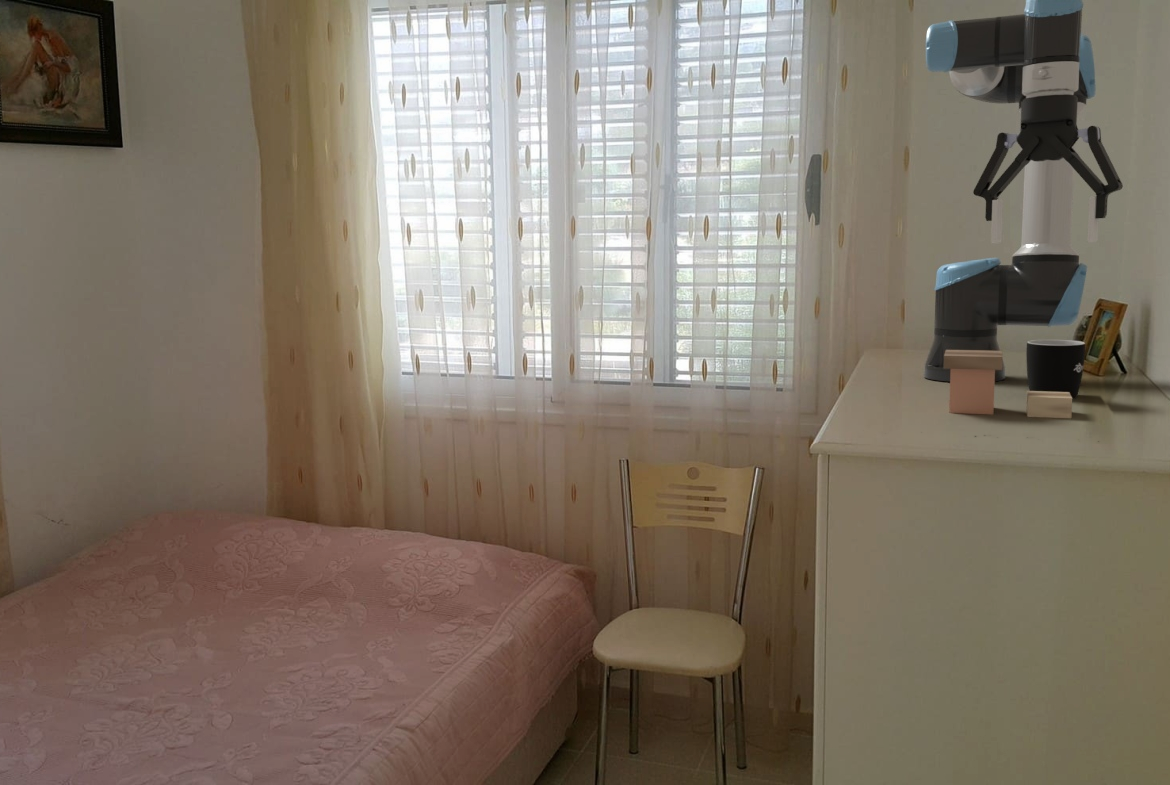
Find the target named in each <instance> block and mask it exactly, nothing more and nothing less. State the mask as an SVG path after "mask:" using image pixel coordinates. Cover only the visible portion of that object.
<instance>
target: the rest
mask: <svg viewBox="0 0 1170 785" xmlns="http://www.w3.org/2000/svg"><path fill="white" fill-rule="evenodd" d="M1025 402H1026V403H1025V404H1026V408H1025V411H1026V416H1027V417H1028V418H1030V417H1031V418H1055V419H1072V415H1073V414H1072V412H1073V399H1072V397H1071V395H1070V392H1047V391H1029V390H1026V401H1025Z"/></svg>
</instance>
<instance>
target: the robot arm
mask: <svg viewBox="0 0 1170 785" xmlns="http://www.w3.org/2000/svg"><path fill="white" fill-rule="evenodd" d="M1083 9H1084V2H1083V0H1025V7H1024V12H1023V13H1021V14H1011V15H1010V14H1009V15H1001V16H996V17H986V18H974V19H964V20H963V19H961V20H951V19H950V20H947V21H945V22H938V23H933V24H931V25H930V26H929V27H928V28H927V31H926V38H925V62H926V63H925V64H926V67H927V70H928V71H930V72H932V73H935V72H939V73H940V72H943V73H948V72H949V78H950V79H949V80H950V82H951V84H952V85H953V87H954V89H956V91H958V92H959V93H960V94H961V95H963V96H965V97H968V98H970V99H973V100H976V101H979V102H985V103H990V104H1018V113H1019V114H1020V128H1019V132H1018V133H1014V134H1013V133H1007V132H1000V133H998V134H997V139H996V144H995V149H994V150H993V152H992V154H991V155H990V158H989V161H988V162H987V164H986V166H985V168H984V170H983V172H982V174H981V176H980V177H979V180H978V181H977V182H976V183H977V184H976V185H975V187H974V189H973V195H974V196H976V197H980V198H982V199H984V200H985V217H984V218H985V221H986V222H991V231H990V232H991V233H990V243H991V244H1000V243H1002V241H1003V240H1002V234H1003V212H1004V211H1003V210H1004V209H1003V208H1004V207H1003V206H1004V199H999V197H1000V195H1001V194H1002V193H1003V192H1004V191H1005V190H1006V189H1007V188H1008V186H1009V185H1010V184H1011V183H1012V182H1013V181H1014V179H1015V178H1016V177H1017V176H1018V175H1019V174H1020V173H1021V171H1022V170H1023V169H1024V176H1023V178H1024V179H1023V201H1022V203H1023V204H1022V224H1021V244H1020V245H1021V246H1020V248H1018V250H1016V251H1014V253H1013V254H1012V256H1011V258H1012V259H1011V264H1001V260H1000V258H999V257H990V258H982V259H975V260H968V261H967V260H966V261H960V262H953V263H947V264H943V265H941V266H940V267H939V268H938V269H937V271H936V275H935V276H936V279H935V287H934V289H933V290H934V291H935V303H934V304H935V305H934V326H933V329H934V331H933V332H934V333H933V334H934V335H933V341H932V344H931V347H930V349H929V352H928V354H927V356H926V357H927V358H926V360H925V363H924V366H923V377H924V378H926V379H928V380H933V381H941V382H949V383H950V371H951V369H944V354H945V351H946V350H989V351H1001V350H1000V345H999V342H998V326H1018V327H1019V326H1022V327H1023V326H1027V327H1028V326H1030V327H1031V326H1033V327H1048V328H1050V327H1056V326H1057V327H1058V326H1070V325H1073V324H1074V323H1075V322H1076V321H1077V319H1078V315H1079V312H1080V307H1081V304H1082V298H1083V293H1084V289H1085V283H1086V277H1087V271H1088V266H1087V264H1084V263H1083V262H1081V263H1080V254H1079V253H1078V252H1077V251H1076V250H1075V249H1074V248H1073V247H1072V246H1073V245H1072V226H1073V225H1072V224H1073V204H1074V202H1073V200H1074V186H1075V185H1074V183H1075V182H1074V181H1075V172H1076V173H1077V174H1078V175H1079V176H1080V177H1081V178H1082V180H1084V182H1085V183H1086V184H1087V185H1088V187H1089V188H1090V190H1092V191H1093V192H1094V194H1095V196H1094V195H1093V196H1089V204H1088V206H1089V207H1088V221H1087V222H1088V223H1087V241H1086V242H1087V243H1096V242H1097V243H1098V242H1099V241H1098V239H1099V222H1100V221H1099V219H1105V218H1106V217H1107V214H1108V197H1109V195H1111V194H1112V193H1115V192H1118V191H1120V190H1122V189H1123V183H1122V180H1121V178H1120V176H1119V175H1118V173H1117V170H1116V169H1115V167H1114V164H1113V161H1112V160H1111V158H1110V157H1109V155H1108V153H1107V150H1106V149H1105V146H1104V144H1103V142H1102V134H1101V133H1102V132H1101V131H1102V130H1101V128H1100V127H1099V126H1096V125H1090V126H1089V127H1085V128H1080V129H1079V128H1078V125H1077V124H1078V123H1077V122H1078V121H1077V118H1078V116H1080V115H1081V114H1082V113H1083V111H1084V110H1086V108H1087V100H1088V99H1093V98H1094V97H1095V96H1096V79H1095V78H1096V76H1095V75H1096V72H1095V61H1094V60H1095V58H1094V52H1093V47H1092V46H1093V45H1092V41H1091V38H1090V37H1088V35H1086V34H1082V23H1083V22H1082V21H1083V20H1082V18H1083V17H1082V16H1083ZM1079 138H1082V140H1083V142H1084V143H1086V144H1088V146H1089V149H1090V150H1091V153H1092V155H1093V157H1094V159H1095V161H1096V163H1097V164H1098V167H1099V169H1100V172H1101V173H1102V175H1103V177H1104V179H1105V181H1106V185H1105V183H1104V182H1103V181H1102V180H1101V179H1100V178H1099V177H1098V175H1096V174H1095V172H1094V171H1093V170H1092V169H1091V167H1089V166H1088V164H1087V163H1086V162H1085V161H1084V160H1083V159H1082V158H1081V157H1080V155H1079V153H1078V152H1077V151H1076V143H1077V142H1078V140H1079ZM1015 143H1017V144H1018V145H1019V147H1020V148H1021V149H1022V150H1021V151H1020V152H1019V153H1018V154H1017V155H1016V156H1015V158H1014V160H1013V162H1011V163H1010V165H1009V166H1008V167H1007V168H1006V169H1005V170H1004V171H1003V173H1002V174H1001V175H1000V176H999V178H998V179H997V180H996V181H995V182H994V183H993V181H994V179H995V177H996V175H997V174H998V171H999V169H1000V168H1001V166H1002V164H1003V162H1004V160H1005V158H1006V156H1007V154H1008V152H1009V149H1011V148H1013V146H1014V145H1015ZM992 183H993V185H992ZM990 186H991V187H990ZM1005 378H1006V366H1005V362H1004V361H1003V363H1002V370H995V382H998V381H999V382H1000V381H1003V380H1005Z"/></svg>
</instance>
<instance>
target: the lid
mask: <svg viewBox="0 0 1170 785" xmlns="http://www.w3.org/2000/svg"><path fill="white" fill-rule="evenodd" d="M1003 357H1004V356H1003V351H1002V350H1000V351H989V350H946V351H945V354H944V369H981V370H1002V363H1003V362H1004V358H1003Z"/></svg>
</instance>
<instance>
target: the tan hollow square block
mask: <svg viewBox="0 0 1170 785" xmlns="http://www.w3.org/2000/svg"><path fill="white" fill-rule="evenodd" d="M995 383H996V381H995V370H981V369H951V371H950V382H949V405H948V406H949V408H948V409H949V410H948V413H950V414H971V415H994V409H995V408H994V407H995V406H994V405H995Z"/></svg>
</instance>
